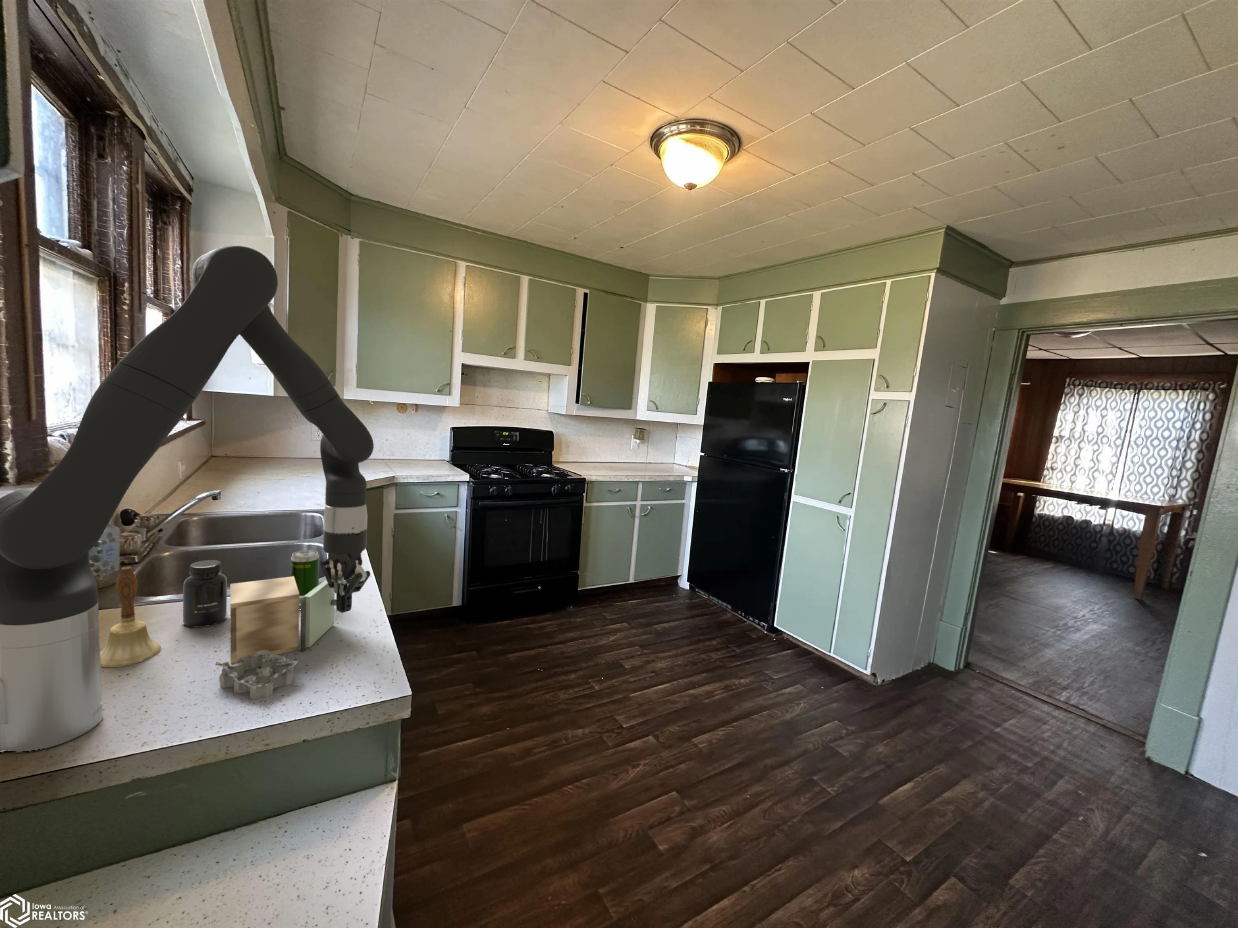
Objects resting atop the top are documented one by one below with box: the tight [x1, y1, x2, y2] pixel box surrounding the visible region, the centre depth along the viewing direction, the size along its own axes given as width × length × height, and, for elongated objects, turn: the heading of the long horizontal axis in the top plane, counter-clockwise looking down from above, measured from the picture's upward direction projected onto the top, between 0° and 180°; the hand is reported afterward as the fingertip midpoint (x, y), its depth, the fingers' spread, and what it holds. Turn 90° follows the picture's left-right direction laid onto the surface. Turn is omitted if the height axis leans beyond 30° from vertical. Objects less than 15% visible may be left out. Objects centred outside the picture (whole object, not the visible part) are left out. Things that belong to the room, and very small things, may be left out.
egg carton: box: [215, 650, 299, 700], centre depth 82 cm, size 11×8×4 cm
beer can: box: [289, 549, 320, 609], centre depth 110 cm, size 5×5×12 cm
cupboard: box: [229, 576, 306, 665], centre depth 92 cm, size 11×11×11 cm
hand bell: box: [100, 566, 162, 668], centre depth 85 cm, size 8×8×16 cm
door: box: [305, 579, 336, 648], centre depth 97 cm, size 2×10×10 cm, turn 6°
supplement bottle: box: [182, 559, 228, 628], centre depth 99 cm, size 7×7×12 cm
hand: (343, 610), depth 99 cm, fingers closed
